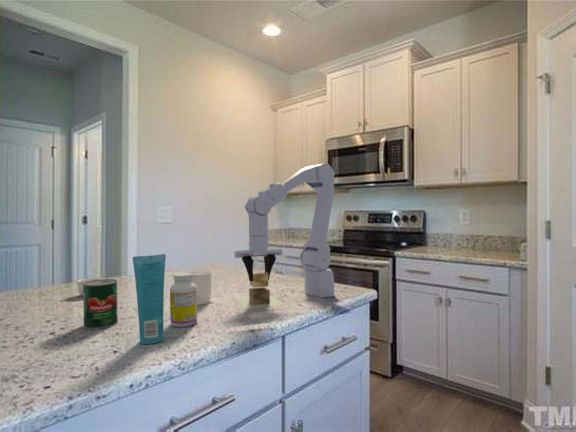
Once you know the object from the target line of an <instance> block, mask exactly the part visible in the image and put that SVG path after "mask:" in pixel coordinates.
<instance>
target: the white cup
mask: <svg viewBox="0 0 576 432" xmlns="http://www.w3.org/2000/svg"><path fill="white" fill-rule="evenodd" d="M186 273H192V274H193V278H192V283H194V284H196V286H197V306H199V305H205V304H209V303H210V302H211V295H212V275H213V274H212V271H211V270H191V271H188V272H186Z"/></svg>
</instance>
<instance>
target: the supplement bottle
mask: <svg viewBox="0 0 576 432" xmlns="http://www.w3.org/2000/svg"><path fill="white" fill-rule="evenodd" d="M192 278H193V274H192V273H187V272H179V273H174V274H173V281H174V283H173V284H172V285H170V288H169V303H170V304H169V306H170V307H169V308H170V309H169V311H170V325H171V326H172V327H176V328H188V327H191V326H194V325H196V324H197V322H198V305H197V286H196V284H194V283H192Z"/></svg>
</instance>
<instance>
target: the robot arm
mask: <svg viewBox="0 0 576 432" xmlns="http://www.w3.org/2000/svg"><path fill="white" fill-rule="evenodd" d="M335 174H336V173H335V171H334V169H333V167H332V166H331V165H330V164H329V163H326V162H323V163H320V164H314V165H307V166H305V167H302V168H300V169H299V170H298V171H297V172H295V173H294V174H293V175H291V176H290V177H289V178H287V179H285V181H283V182H282V183H280V182H271V183H269V187H267V188H265V189H264V190H260V191H258V192H257V195H256V196H251V197H249V198H248V199H247V201H246V204H245V205H244V209H245V211H246V213H247V214H248V238H249V239H248V242H249V243H248V245H249V246H248V249H243V250H234V258H235V259H239V258H241V260H242V263H243V264H244V266H245V269H246V273H247V276H248V281H249V282H250V281H251V282H252V281H253V272H254V258H253V257H255V258H256V257H263V260H264V271H265V272H267V273H268V281H270V276H271V272H272V270H273V269H272V268H273V266H274V264H275V262H276V260H277V257H276V256H283V249H282V248H269V220H268V218H269V217H268V215H269V213H270V212H271V210H272V208H273V207H275V206H276V205H278V204H280V202H282V201H283V200H285V199H287V197H288V193H289V192H291V191H292V190H294V189H295V188H297V187H299V186H300V185H302V184H303V183H305V184H307V186H309V187H310V188H311V189H312V190H314V191H315V193H316V195H317V197H316V202H315V207H314V213H313V219H312V225H311V228H310V229H311V230H310V236H309V239H308V240H307V241H306V242H305V244H304V245H303V249H302V251H301V253H300V256H299V261H300V263H301V265H302V266H303V269H304V294H305V295H308V296H317V297H320V298H331V297H335V296H336V294H335V275H334V272H333V270H332V269H331V268H329V266H330V264H331V259H332V258H331V247H330V246H329V245H328V243H327V238H328V237H327V236H328V232H329V231H328V230H329V225H330V218H331V214H332V213H331V212H332V208H333V202H334V198H335V197H334V196H335V184H334V180H335Z"/></svg>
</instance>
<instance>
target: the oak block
mask: <svg viewBox="0 0 576 432" xmlns="http://www.w3.org/2000/svg"><path fill="white" fill-rule="evenodd" d="M249 285H250V286H251V288H258V287H266V288H267V287H269V280H268V273H267V272H265V270H258V271H257V270H255V271H254V270H253V281H252V282H251V281H249Z"/></svg>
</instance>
